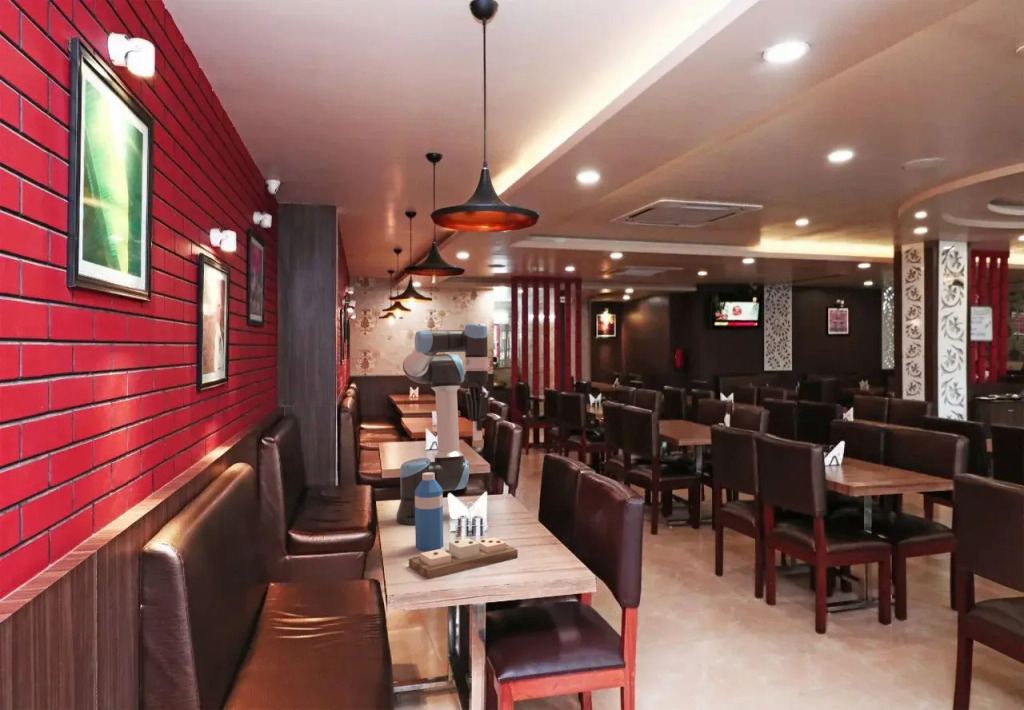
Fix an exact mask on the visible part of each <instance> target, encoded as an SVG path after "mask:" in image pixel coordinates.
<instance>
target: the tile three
mask: <svg viewBox="0 0 1024 710" xmlns="http://www.w3.org/2000/svg"><path fill="white" fill-rule="evenodd" d="M475 542H477V543H479V550H481V551H483V552H485V553H492V552H496V551H500V550H505V549H506V545H507V542H505V541H504V540H502V539H498V538H497V537H494V536H493V537H489V538H485V539H481V540H475Z"/></svg>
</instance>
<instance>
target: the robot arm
mask: <svg viewBox="0 0 1024 710" xmlns="http://www.w3.org/2000/svg"><path fill="white" fill-rule="evenodd" d="M414 335H415V336H414V350H413V351H412V352H411V353H409V354H407V356H405V358H404V360H403V361H402V362H403V363H402V370H403V373H404V375H405V376H406V377H407V378H408V379H409V380H410V381H413V382H415V383H418V384H425V385H426V384H427V385H429V384H431V386H430V387H431V390H433V391H434V394H435V409H436V411H435V412H436V437H437V453H436V454H435V455H434V461H431V459H429V458H428V457H424V458H422V457H419V458H415V459H414V458H413V459H409V460H406V461H405V462H402V464H401V466H400V469H399V471H400V472H399V478H400V479H399V480H400V502H399V506H398V507H397V508H398V509H397V512H396V515H395V516H396V523H399V524H401V525H409V526H415V490H416V488H417V487H418V485H419V484H420V482H421V481H422V474H423V473H427V472H432V473H435V480H436V481H437V483H438V484H439V485H440V486H441V488H442V490H443V491H444V492H445V491H456V490H462V489H464V488H465V487H466V486H467V484H468V481H469V476H470V465H469V460H467V459H466V458H465V455H464V453H463V452H462V451H460V450H461V449H460V433H459V432H460V431H459V429H460V428H459V411H458V390H459V389H460V388H461V384H462V383H464V381H465V383H466V382H467V383H468V385H467V386H468V387H467V389H464V395H465V399H466V407H467V414H468V415H467V416H468V419H471V421H472V440H473V442H476V441H477V442H478V441H483V421H484V420H486V419H487V414H488V406H489V398H490V396H491V392H490V391H488V390H487V388H486V382H488V380H489V371H488V370H487V369H488V368H489V361H488V360H489V357H488V354H489V353H488V348H489V347H488V335H489V333H488V325H487V324H485V323H466V324H465V326H464V329H463V330H462V329H459V330H458V329H455V330H450V329H449V330H446V329H445V330H443V329H441V330H434V329H433V330H432V329H431V330H430V329H429V330H428V329H425V330H417V331H416V332H415V333H414ZM462 352H463V353H465V354H464V357H465V361H464V362H465V363H464V362H463V361H462V359H461V357H460V355H458V354H455V353H462ZM464 364H465V368H464ZM465 369H466V370H465Z"/></svg>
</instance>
